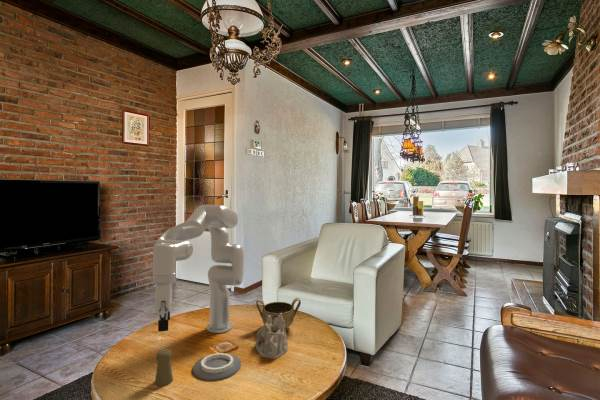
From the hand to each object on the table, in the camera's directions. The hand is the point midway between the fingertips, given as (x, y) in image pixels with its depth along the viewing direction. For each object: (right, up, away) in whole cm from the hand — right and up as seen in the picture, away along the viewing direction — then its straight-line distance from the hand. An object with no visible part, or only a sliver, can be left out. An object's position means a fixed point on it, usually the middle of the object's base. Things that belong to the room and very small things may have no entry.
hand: (164, 325), depth 118 cm
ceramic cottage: (+35, -21, +27) cm, 49 cm away
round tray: (+16, -20, +10) cm, 28 cm away
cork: (0, -21, +1) cm, 21 cm away
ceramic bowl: (+38, -20, +47) cm, 64 cm away
